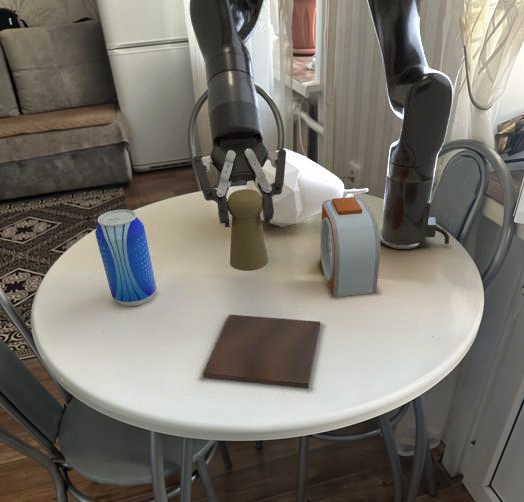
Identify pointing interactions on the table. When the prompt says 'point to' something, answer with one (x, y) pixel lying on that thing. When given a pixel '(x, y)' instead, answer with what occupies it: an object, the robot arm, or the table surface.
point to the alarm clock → (349, 246)
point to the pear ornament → (301, 189)
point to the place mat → (265, 351)
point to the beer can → (125, 257)
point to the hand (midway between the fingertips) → (247, 222)
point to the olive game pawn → (247, 231)
